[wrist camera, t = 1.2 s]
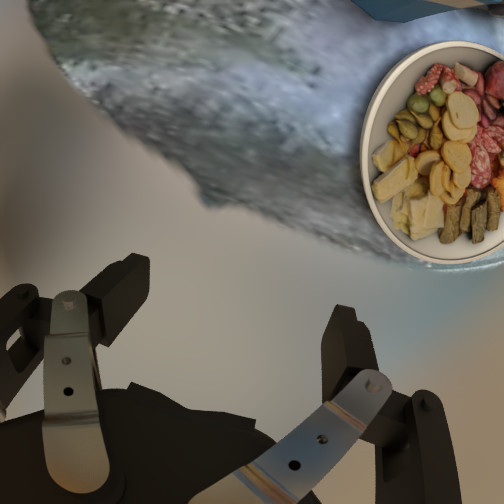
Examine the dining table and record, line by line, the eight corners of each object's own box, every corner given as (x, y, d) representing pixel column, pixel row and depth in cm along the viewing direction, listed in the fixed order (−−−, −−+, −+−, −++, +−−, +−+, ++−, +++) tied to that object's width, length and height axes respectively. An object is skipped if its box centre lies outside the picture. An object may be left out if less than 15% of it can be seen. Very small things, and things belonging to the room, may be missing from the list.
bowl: (481, 262, 39) (499, 293, 33) (325, 214, 40) (329, 248, 33) (550, 108, 21) (582, 124, 15) (386, 2, 21) (408, -11, 15)
